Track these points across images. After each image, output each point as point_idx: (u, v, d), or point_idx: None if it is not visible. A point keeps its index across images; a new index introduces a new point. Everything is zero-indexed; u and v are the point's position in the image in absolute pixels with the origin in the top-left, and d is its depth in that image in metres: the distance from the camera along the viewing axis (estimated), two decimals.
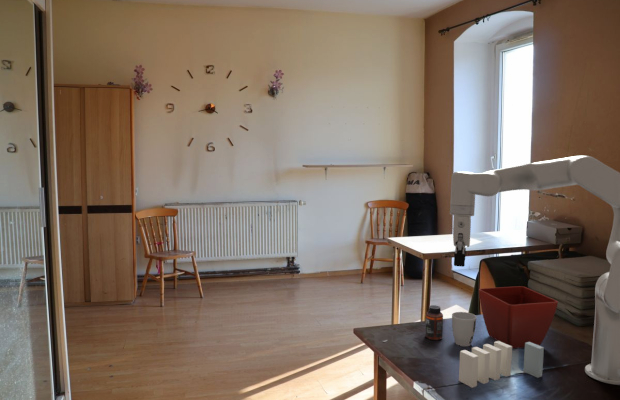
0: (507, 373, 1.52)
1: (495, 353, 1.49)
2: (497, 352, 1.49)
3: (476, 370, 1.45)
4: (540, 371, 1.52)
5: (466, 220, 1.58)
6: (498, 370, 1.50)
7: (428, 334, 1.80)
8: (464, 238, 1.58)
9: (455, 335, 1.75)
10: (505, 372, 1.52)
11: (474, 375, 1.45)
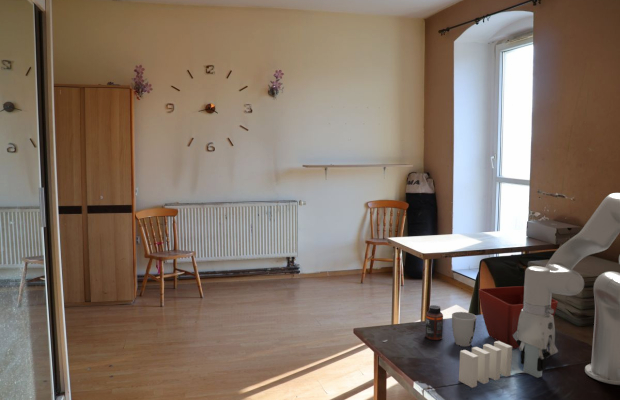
0: (507, 373, 1.52)
1: (495, 353, 1.49)
2: (497, 352, 1.49)
3: (476, 370, 1.45)
4: (540, 371, 1.52)
5: (553, 320, 1.49)
6: (498, 370, 1.50)
7: (428, 334, 1.80)
8: (552, 339, 1.49)
9: (455, 335, 1.75)
10: (505, 372, 1.52)
11: (474, 375, 1.45)
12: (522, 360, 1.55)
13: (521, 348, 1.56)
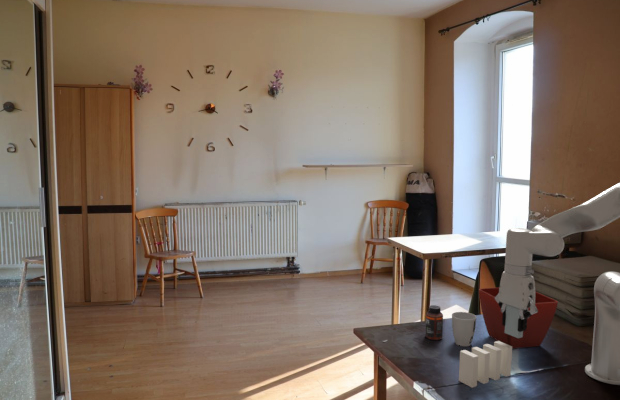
0: (507, 373, 1.52)
1: (495, 353, 1.49)
2: (497, 352, 1.49)
3: (476, 370, 1.45)
4: None
5: (533, 280, 1.51)
6: (498, 370, 1.50)
7: (428, 334, 1.80)
8: (533, 300, 1.51)
9: (455, 335, 1.75)
10: (505, 372, 1.52)
11: (474, 375, 1.45)
12: (503, 322, 1.57)
13: (502, 310, 1.57)
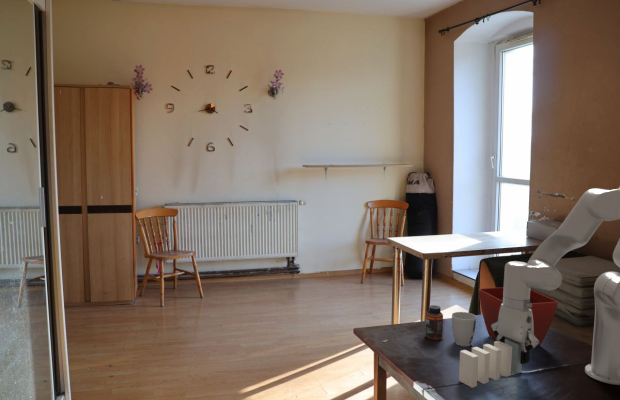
0: (507, 373, 1.52)
1: (495, 353, 1.49)
2: (497, 352, 1.49)
3: (476, 370, 1.45)
4: (519, 367, 1.54)
5: (531, 314, 1.52)
6: (498, 370, 1.50)
7: (428, 334, 1.80)
8: None
9: (455, 335, 1.75)
10: (505, 372, 1.52)
11: (474, 375, 1.45)
12: None
13: (498, 339, 1.59)
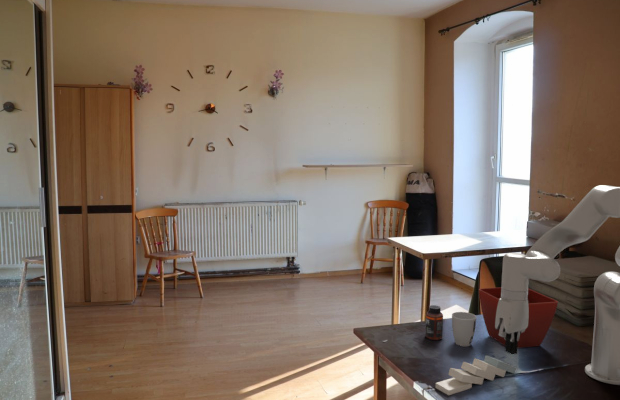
0: (502, 374, 1.51)
1: (475, 374, 1.45)
2: (476, 373, 1.45)
3: (459, 388, 1.42)
4: (512, 369, 1.53)
5: None
6: (488, 374, 1.48)
7: (428, 334, 1.80)
8: None
9: (455, 335, 1.75)
10: None
11: (463, 389, 1.43)
12: (514, 350, 1.54)
13: (512, 339, 1.54)
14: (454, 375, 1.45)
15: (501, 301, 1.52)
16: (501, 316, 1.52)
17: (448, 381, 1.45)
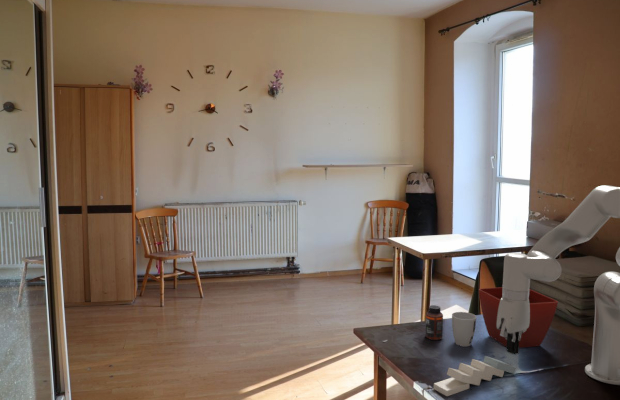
0: (501, 375, 1.51)
1: None
2: (473, 375, 1.45)
3: (457, 389, 1.42)
4: (512, 369, 1.53)
5: None
6: (486, 375, 1.48)
7: (428, 334, 1.80)
8: None
9: (455, 335, 1.75)
10: None
11: (461, 390, 1.43)
12: (516, 350, 1.54)
13: (514, 339, 1.54)
14: (453, 375, 1.43)
15: (502, 301, 1.53)
16: (503, 316, 1.52)
17: (445, 382, 1.45)
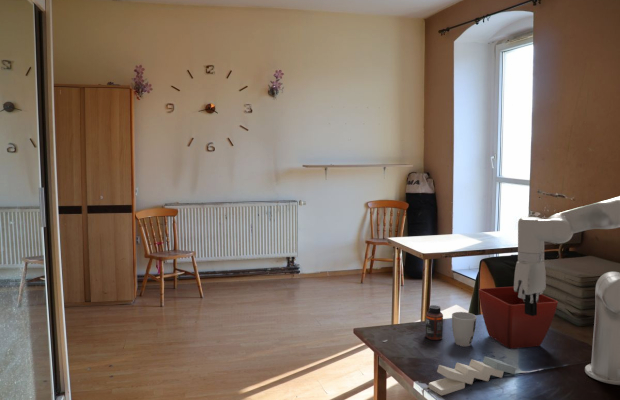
0: (500, 375, 1.51)
1: (467, 375, 1.45)
2: (468, 374, 1.45)
3: (452, 388, 1.42)
4: (511, 370, 1.53)
5: None
6: (483, 375, 1.47)
7: (428, 334, 1.80)
8: None
9: (455, 335, 1.75)
10: (498, 376, 1.51)
11: (456, 389, 1.43)
12: None
13: (532, 301, 1.58)
14: (442, 372, 1.45)
15: (519, 264, 1.57)
16: (520, 279, 1.56)
17: (441, 381, 1.45)
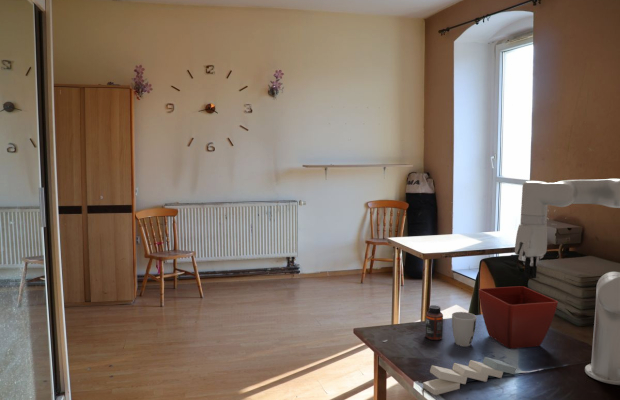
0: (499, 376, 1.50)
1: None
2: (464, 375, 1.45)
3: (446, 388, 1.42)
4: (512, 370, 1.53)
5: None
6: (480, 376, 1.47)
7: (428, 334, 1.80)
8: None
9: (455, 335, 1.75)
10: (498, 377, 1.50)
11: (450, 390, 1.43)
12: (533, 274, 1.60)
13: (532, 264, 1.59)
14: (434, 372, 1.45)
15: (521, 226, 1.58)
16: (521, 241, 1.58)
17: (436, 381, 1.45)
